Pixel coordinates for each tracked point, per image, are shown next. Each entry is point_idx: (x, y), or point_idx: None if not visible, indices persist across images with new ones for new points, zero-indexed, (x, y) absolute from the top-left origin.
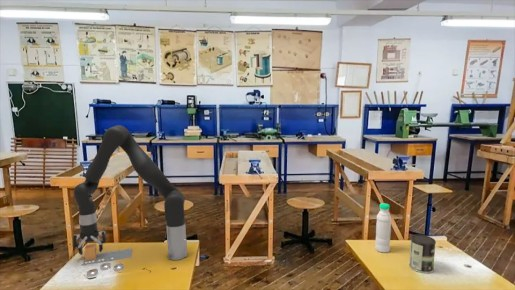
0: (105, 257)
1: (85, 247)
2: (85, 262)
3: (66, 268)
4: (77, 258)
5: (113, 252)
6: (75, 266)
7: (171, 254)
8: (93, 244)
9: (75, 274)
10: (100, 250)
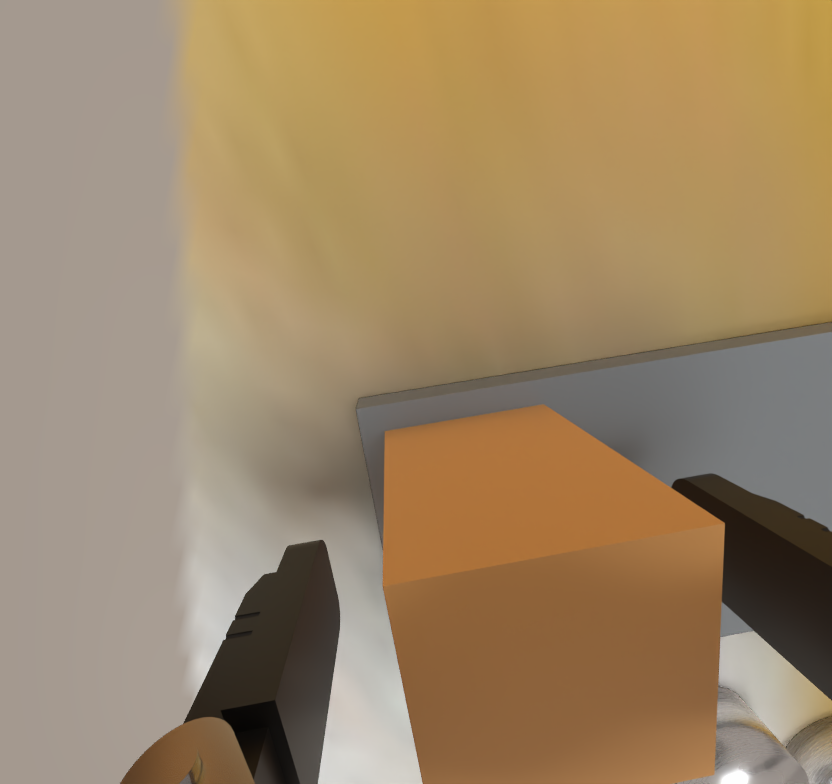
0: None
1: (431, 754)
2: None
3: (197, 654)
4: (213, 390)
5: (803, 379)
6: None
7: None
8: (645, 586)
9: (384, 779)
10: None
